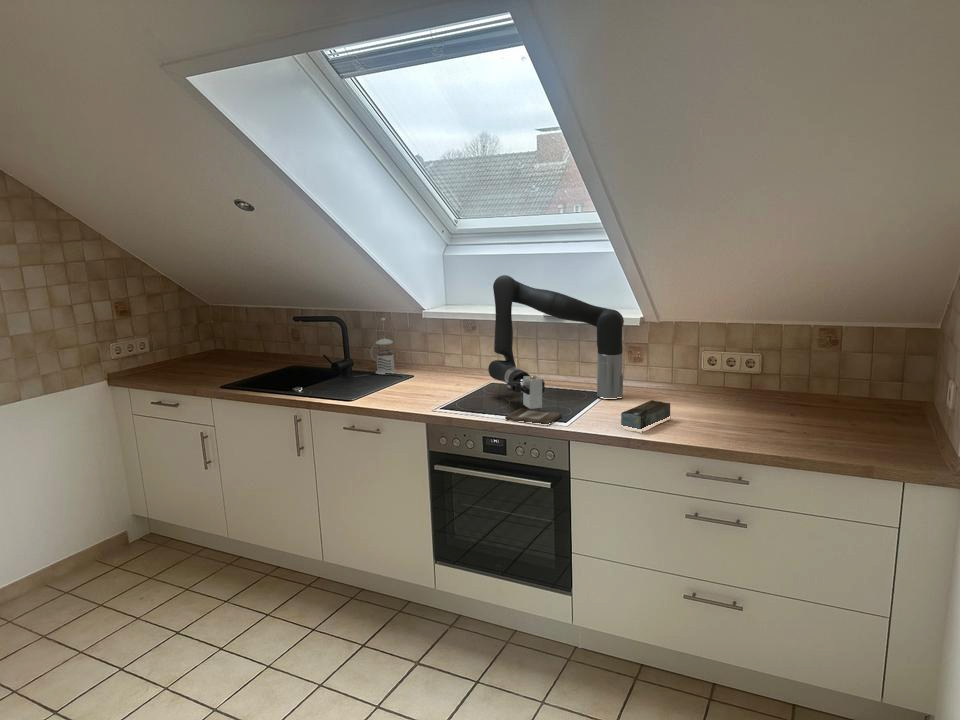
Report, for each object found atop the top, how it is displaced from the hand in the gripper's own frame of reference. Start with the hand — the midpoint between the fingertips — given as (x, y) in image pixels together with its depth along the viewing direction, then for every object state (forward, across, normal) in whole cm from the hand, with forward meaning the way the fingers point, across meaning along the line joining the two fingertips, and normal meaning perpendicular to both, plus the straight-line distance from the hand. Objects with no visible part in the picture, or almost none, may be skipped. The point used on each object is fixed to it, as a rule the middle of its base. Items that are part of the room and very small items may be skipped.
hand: (535, 391), depth 234 cm
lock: (-3, 0, +6) cm, 7 cm away
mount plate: (-2, 0, +10) cm, 11 cm away
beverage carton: (+18, +32, +10) cm, 38 cm away
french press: (-96, -35, +12) cm, 103 cm away
